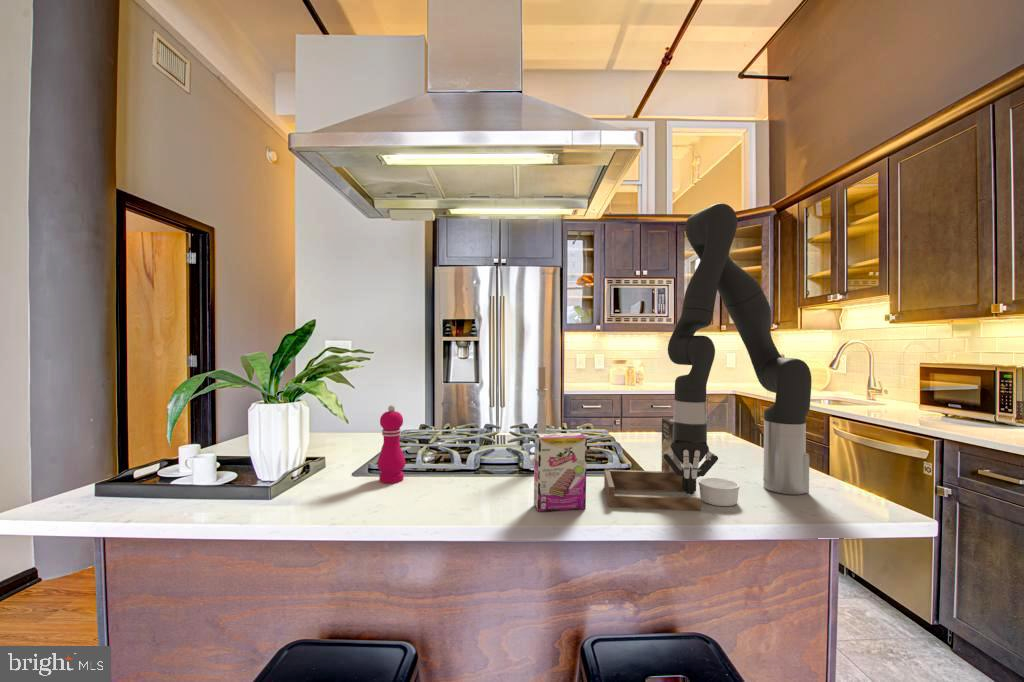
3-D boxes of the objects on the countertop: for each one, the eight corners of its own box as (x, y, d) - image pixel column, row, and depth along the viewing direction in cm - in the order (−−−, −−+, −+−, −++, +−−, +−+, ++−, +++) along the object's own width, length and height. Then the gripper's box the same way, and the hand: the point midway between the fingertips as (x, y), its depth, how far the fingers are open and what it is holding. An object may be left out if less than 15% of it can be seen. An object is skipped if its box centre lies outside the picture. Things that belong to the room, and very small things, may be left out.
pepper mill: (411, 478, 130) (411, 404, 129) (391, 485, 124) (391, 408, 123) (392, 474, 133) (392, 402, 133) (371, 481, 127) (371, 405, 127)
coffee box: (660, 474, 134) (660, 417, 134) (683, 475, 134) (683, 417, 134) (670, 485, 125) (671, 423, 125) (695, 485, 125) (695, 423, 125)
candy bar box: (538, 513, 105) (538, 437, 105) (533, 505, 110) (533, 433, 110) (587, 510, 107) (587, 436, 107) (580, 502, 112) (580, 431, 112)
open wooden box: (685, 490, 121) (685, 472, 121) (700, 510, 107) (701, 490, 106) (604, 486, 123) (604, 469, 123) (608, 506, 109) (609, 486, 109)
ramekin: (690, 496, 116) (690, 478, 116) (722, 493, 118) (722, 476, 118) (714, 509, 107) (714, 489, 107) (748, 506, 110) (748, 487, 110)
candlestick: (524, 459, 150) (524, 363, 150) (565, 461, 148) (565, 364, 148) (516, 470, 138) (516, 366, 138) (561, 473, 135) (561, 366, 135)
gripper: (714, 418, 117) (713, 489, 117) (658, 416, 118) (657, 487, 118) (724, 423, 109) (723, 500, 109) (664, 421, 111) (663, 497, 111)
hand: (688, 493), depth 114 cm, fingers closed
